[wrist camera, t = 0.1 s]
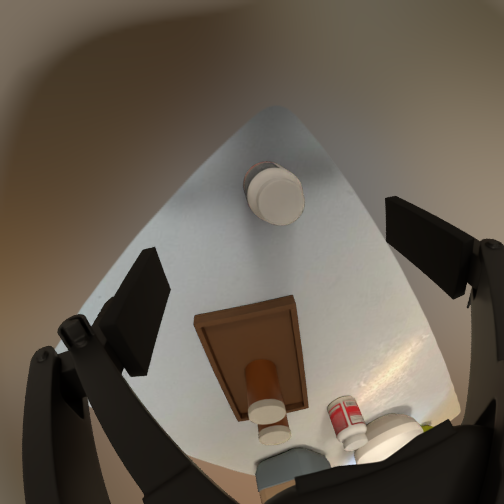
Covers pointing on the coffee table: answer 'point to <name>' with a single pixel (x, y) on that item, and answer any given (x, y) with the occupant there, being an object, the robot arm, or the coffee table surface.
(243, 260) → the coffee table surface
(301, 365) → the tray
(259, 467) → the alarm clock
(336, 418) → the pill bottle
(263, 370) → the amber bottle middle
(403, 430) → the bowl
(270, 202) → the pill bottle
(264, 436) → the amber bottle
